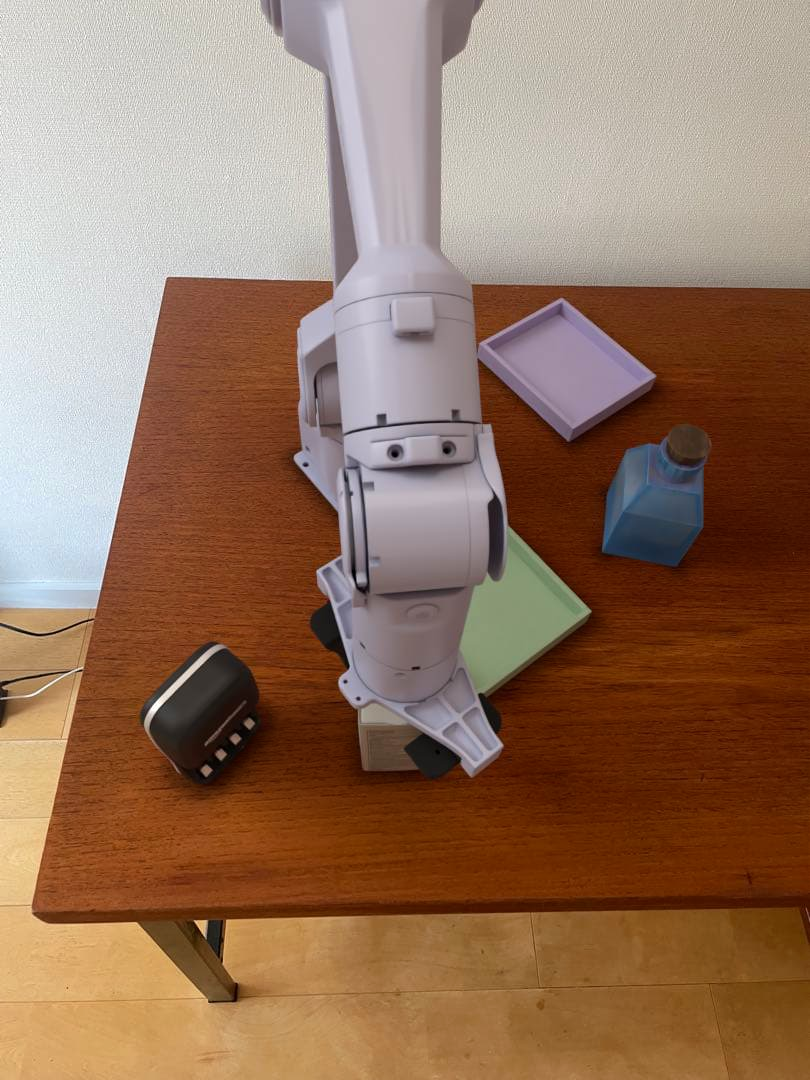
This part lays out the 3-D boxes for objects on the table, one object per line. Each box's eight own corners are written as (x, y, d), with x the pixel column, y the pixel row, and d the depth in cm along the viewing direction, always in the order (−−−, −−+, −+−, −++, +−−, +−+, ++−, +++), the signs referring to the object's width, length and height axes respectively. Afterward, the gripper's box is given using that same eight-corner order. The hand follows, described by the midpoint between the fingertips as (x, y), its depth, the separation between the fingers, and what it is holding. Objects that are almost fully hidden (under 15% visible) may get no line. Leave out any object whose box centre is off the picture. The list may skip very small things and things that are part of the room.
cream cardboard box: (429, 711, 59) (441, 657, 50) (432, 770, 57) (444, 725, 48) (359, 711, 59) (358, 657, 50) (358, 771, 57) (357, 725, 48)
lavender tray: (476, 357, 78) (479, 342, 76) (558, 311, 82) (562, 297, 80) (568, 442, 73) (573, 429, 71) (650, 389, 77) (657, 375, 75)
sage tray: (353, 567, 65) (352, 555, 64) (465, 496, 69) (467, 483, 68) (471, 709, 59) (474, 700, 58) (586, 621, 64) (592, 611, 62)
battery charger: (208, 802, 55) (174, 754, 45) (169, 768, 56) (128, 713, 46) (277, 725, 58) (260, 664, 48) (239, 694, 59) (214, 628, 49)
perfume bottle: (676, 566, 67) (733, 482, 56) (602, 552, 67) (645, 466, 57) (677, 506, 70) (731, 417, 60) (607, 493, 70) (648, 401, 60)
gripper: (263, 558, 42) (285, 661, 54) (436, 781, 36) (419, 841, 48) (371, 494, 44) (370, 605, 56) (549, 692, 39) (507, 770, 50)
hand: (398, 710), depth 52 cm, fingers open, 7 cm apart
